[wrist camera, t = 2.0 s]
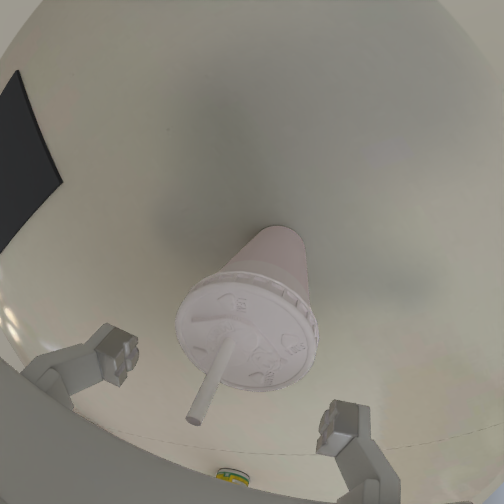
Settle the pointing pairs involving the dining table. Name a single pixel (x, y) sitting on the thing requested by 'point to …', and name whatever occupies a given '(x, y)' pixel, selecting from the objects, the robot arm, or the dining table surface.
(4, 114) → the mat
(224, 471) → the supplement bottle
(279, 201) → the dining table surface
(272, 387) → the smoothie
